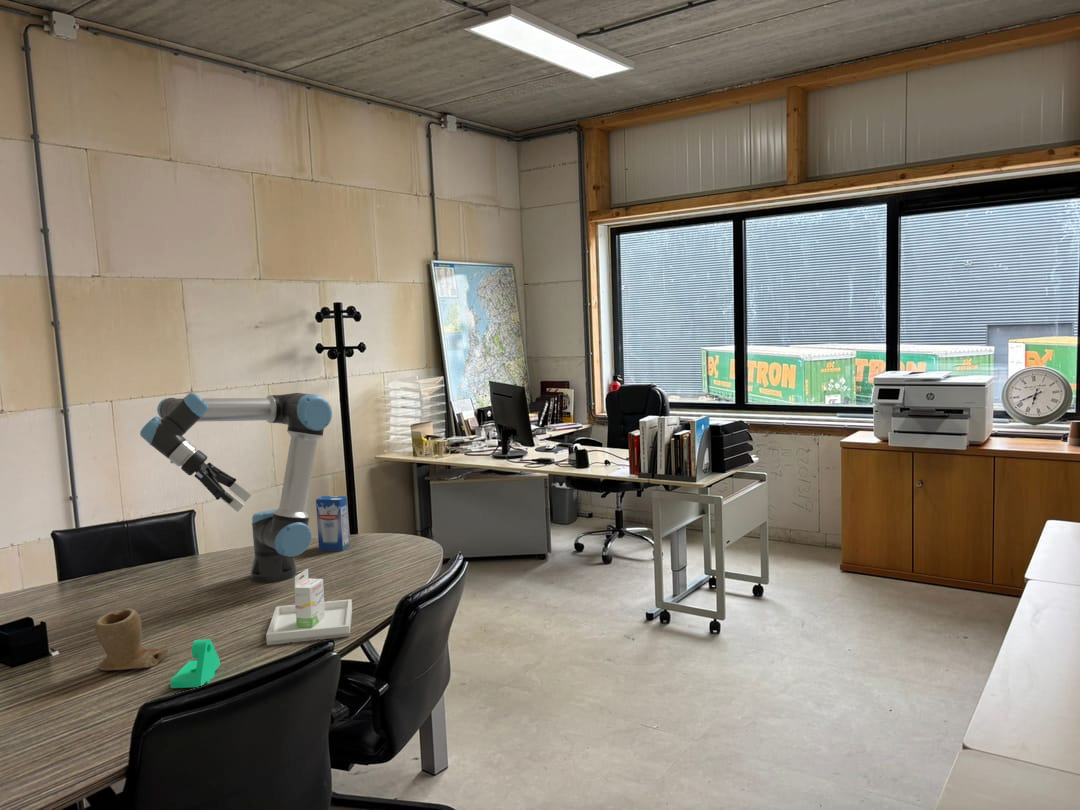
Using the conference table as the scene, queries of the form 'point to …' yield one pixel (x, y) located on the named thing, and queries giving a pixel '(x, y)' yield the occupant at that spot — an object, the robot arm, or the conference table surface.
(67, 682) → the conference table surface
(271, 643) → the tray
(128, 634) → the stone cup
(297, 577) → the ink box
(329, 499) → the milk carton
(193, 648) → the camera mount
